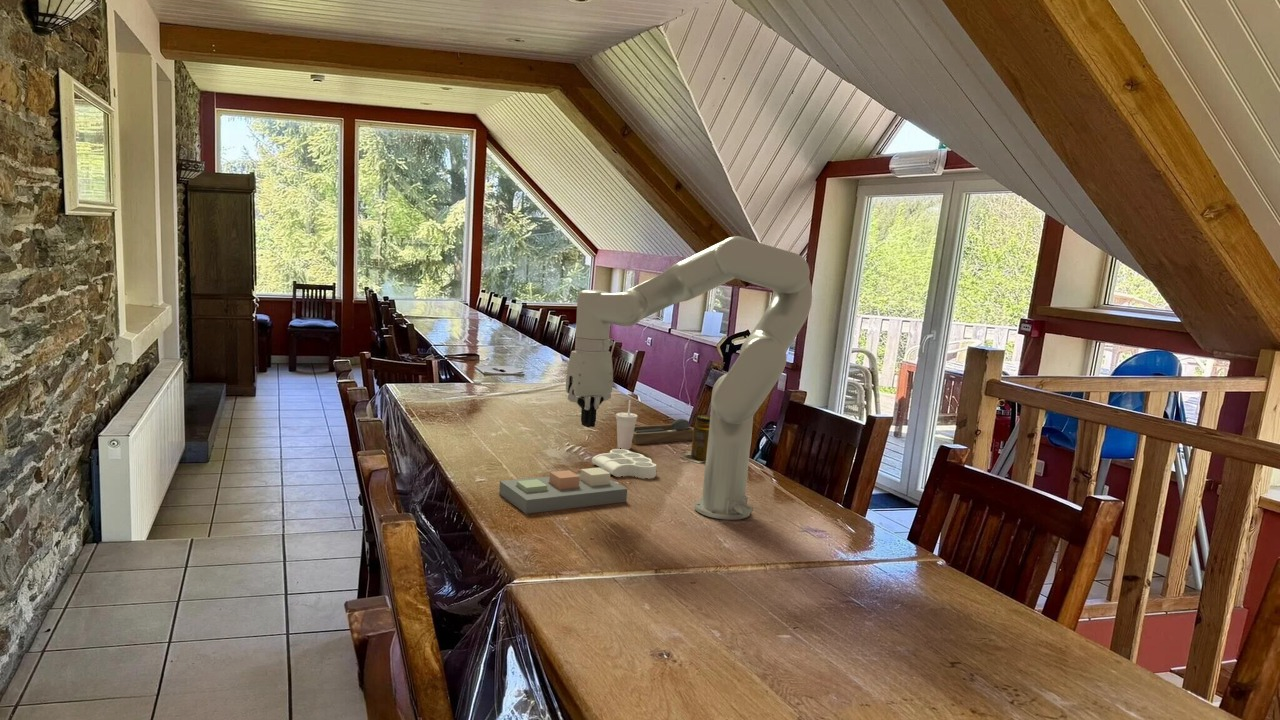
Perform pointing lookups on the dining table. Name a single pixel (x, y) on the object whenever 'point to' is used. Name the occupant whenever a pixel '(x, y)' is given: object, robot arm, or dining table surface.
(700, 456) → the condiment
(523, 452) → the dining table surface
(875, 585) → the dining table surface
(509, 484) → the button panel
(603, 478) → the cream button
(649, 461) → the white paint palette
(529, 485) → the sage button
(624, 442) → the smoothie
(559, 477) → the terracotta button
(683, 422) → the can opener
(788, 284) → the robot arm
